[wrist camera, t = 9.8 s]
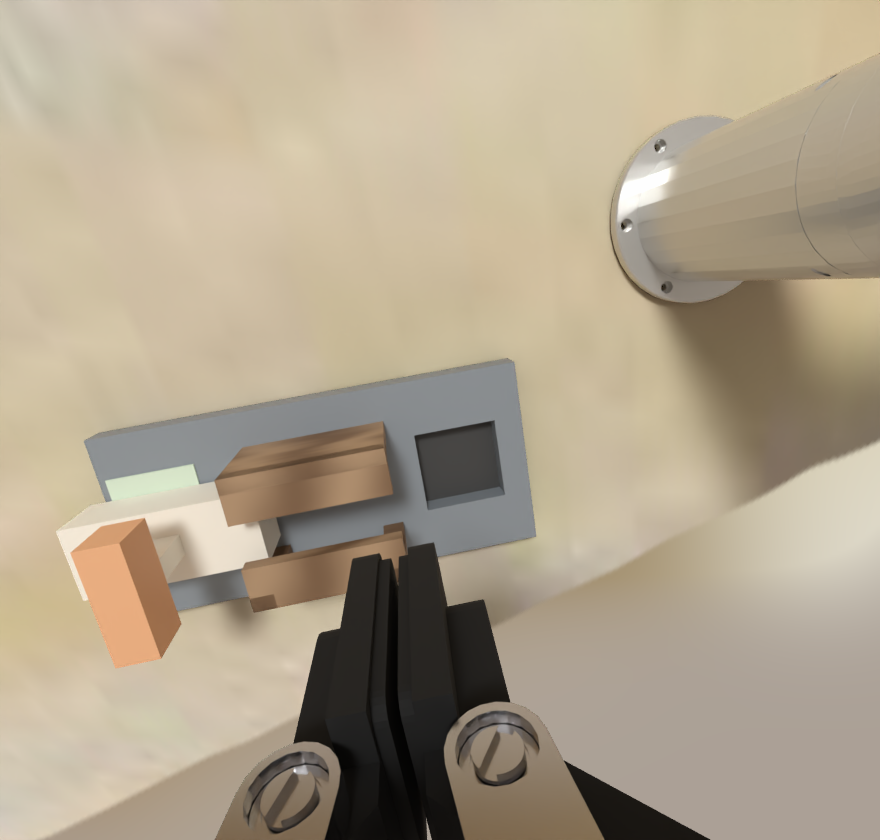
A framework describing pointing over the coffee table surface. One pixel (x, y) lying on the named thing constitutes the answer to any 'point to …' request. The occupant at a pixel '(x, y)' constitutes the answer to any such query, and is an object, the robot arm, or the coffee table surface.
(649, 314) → the coffee table surface
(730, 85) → the coffee table surface
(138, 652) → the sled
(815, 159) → the robot arm
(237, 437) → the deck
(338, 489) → the tunnel
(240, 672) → the coffee table surface
